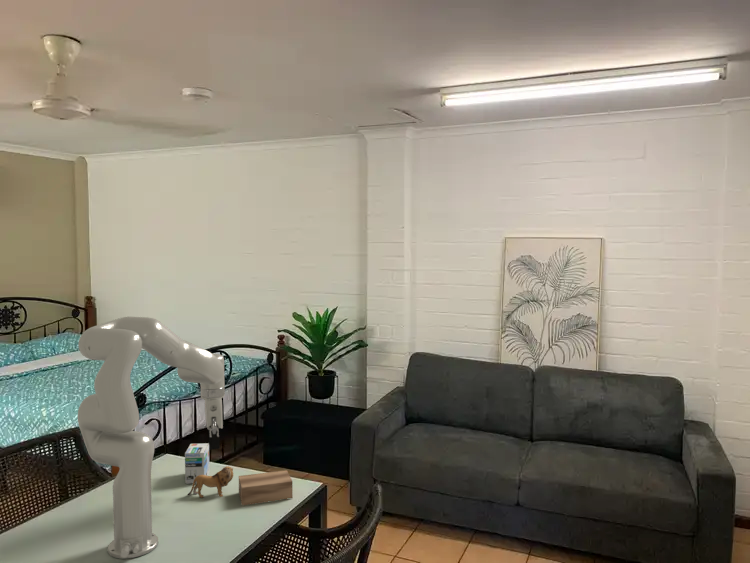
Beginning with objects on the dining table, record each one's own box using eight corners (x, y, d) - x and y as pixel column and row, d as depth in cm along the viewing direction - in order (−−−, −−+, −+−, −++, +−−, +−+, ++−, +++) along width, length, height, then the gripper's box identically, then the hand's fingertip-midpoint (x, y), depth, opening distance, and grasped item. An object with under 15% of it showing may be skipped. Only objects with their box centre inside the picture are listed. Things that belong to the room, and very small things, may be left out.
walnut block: (292, 499, 190) (292, 481, 190) (242, 506, 185) (241, 487, 184) (287, 487, 199) (286, 470, 199) (238, 493, 194) (238, 475, 194)
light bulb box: (204, 483, 202) (204, 452, 201) (184, 484, 201) (184, 453, 201) (209, 471, 213) (209, 442, 212) (190, 472, 212) (190, 443, 211)
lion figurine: (233, 489, 197) (233, 463, 196) (233, 496, 192) (233, 469, 191) (187, 493, 194) (187, 466, 193) (186, 500, 188) (185, 472, 188)
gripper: (226, 398, 184) (227, 451, 185) (223, 385, 201) (224, 434, 202) (201, 400, 182) (202, 454, 183) (200, 386, 198) (201, 436, 200)
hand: (213, 443), depth 192 cm, fingers open, 9 cm apart
